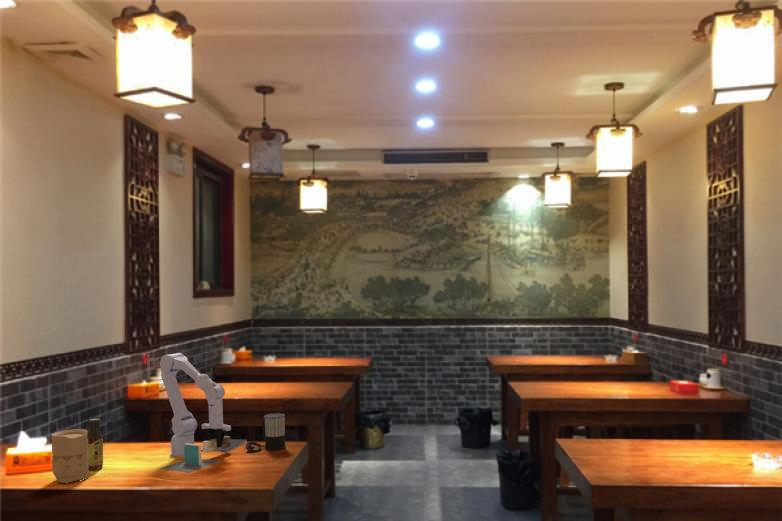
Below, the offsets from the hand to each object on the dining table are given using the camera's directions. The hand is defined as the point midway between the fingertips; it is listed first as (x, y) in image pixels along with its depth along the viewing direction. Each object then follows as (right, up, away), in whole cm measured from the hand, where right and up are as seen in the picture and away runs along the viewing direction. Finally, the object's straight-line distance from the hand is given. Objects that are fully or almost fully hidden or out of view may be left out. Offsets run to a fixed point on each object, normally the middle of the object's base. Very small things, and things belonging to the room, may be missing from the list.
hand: (216, 446), depth 293 cm
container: (-49, -6, -27) cm, 56 cm away
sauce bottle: (-47, -6, -11) cm, 48 cm away
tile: (-7, -4, -12) cm, 15 cm away
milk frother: (+19, -4, +10) cm, 22 cm away
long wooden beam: (0, -1, 0) cm, 1 cm away
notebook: (-1, -6, +19) cm, 20 cm away
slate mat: (-7, -4, -13) cm, 16 cm away
